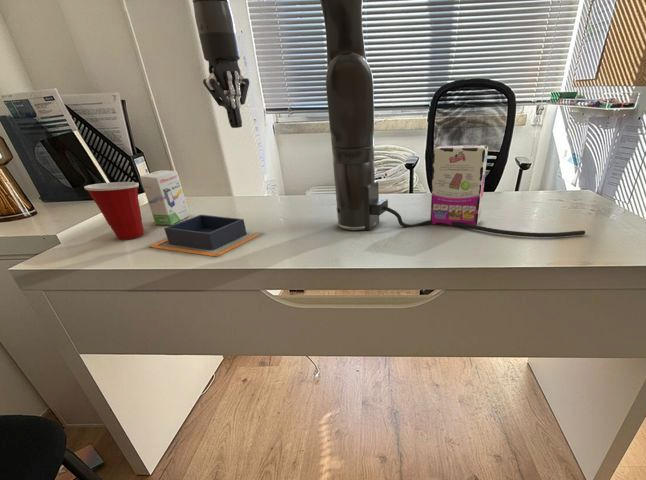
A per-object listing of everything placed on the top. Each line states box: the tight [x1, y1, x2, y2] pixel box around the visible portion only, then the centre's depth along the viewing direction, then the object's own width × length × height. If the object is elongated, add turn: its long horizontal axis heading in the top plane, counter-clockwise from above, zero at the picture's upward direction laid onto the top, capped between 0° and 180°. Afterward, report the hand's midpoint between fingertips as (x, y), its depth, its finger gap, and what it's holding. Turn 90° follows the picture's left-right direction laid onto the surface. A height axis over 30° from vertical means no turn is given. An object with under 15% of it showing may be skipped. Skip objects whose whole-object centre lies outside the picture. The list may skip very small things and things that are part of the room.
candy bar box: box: [429, 145, 489, 227], centre depth 87 cm, size 11×5×16 cm, turn 68°
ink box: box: [139, 169, 191, 226], centre depth 100 cm, size 9×5×12 cm, turn 168°
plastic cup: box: [83, 181, 145, 241], centre depth 90 cm, size 11×11×12 cm
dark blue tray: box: [163, 214, 248, 251], centre depth 89 cm, size 13×11×4 cm
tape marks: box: [148, 233, 261, 258], centre depth 88 cm, size 20×15×1 cm
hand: (236, 127), depth 90 cm, fingers closed
